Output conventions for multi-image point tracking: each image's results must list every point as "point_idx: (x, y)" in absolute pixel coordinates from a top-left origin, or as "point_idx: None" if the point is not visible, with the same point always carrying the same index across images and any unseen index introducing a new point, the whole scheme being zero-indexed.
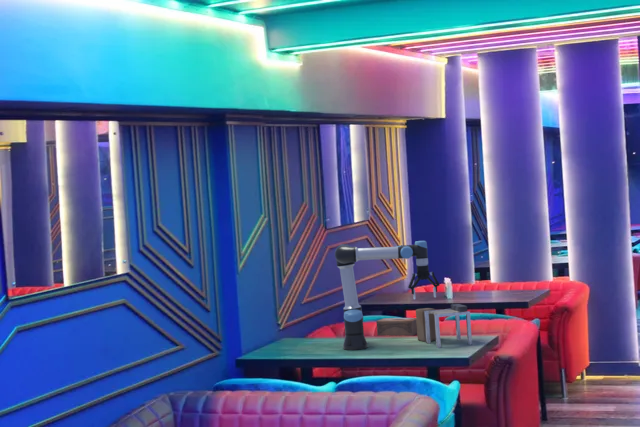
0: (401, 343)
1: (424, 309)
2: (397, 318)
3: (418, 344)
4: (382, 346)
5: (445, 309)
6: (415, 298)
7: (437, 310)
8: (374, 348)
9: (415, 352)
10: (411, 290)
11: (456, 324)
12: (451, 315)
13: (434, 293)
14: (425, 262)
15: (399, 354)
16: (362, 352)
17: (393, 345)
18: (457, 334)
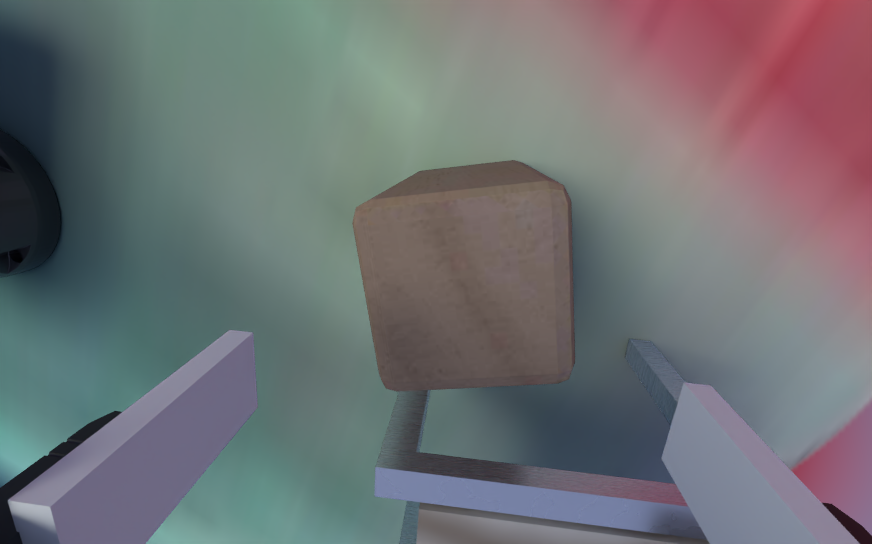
0: (280, 226)
1: (436, 332)
2: None
3: (361, 333)
4: (151, 253)
5: (622, 524)
6: (243, 418)
7: (513, 524)
8: (100, 288)
9: (275, 524)
10: (7, 498)
11: (670, 415)
12: None
13: (710, 507)
14: None
15: (197, 520)
16: (31, 362)
17: (219, 264)
18: (638, 377)
